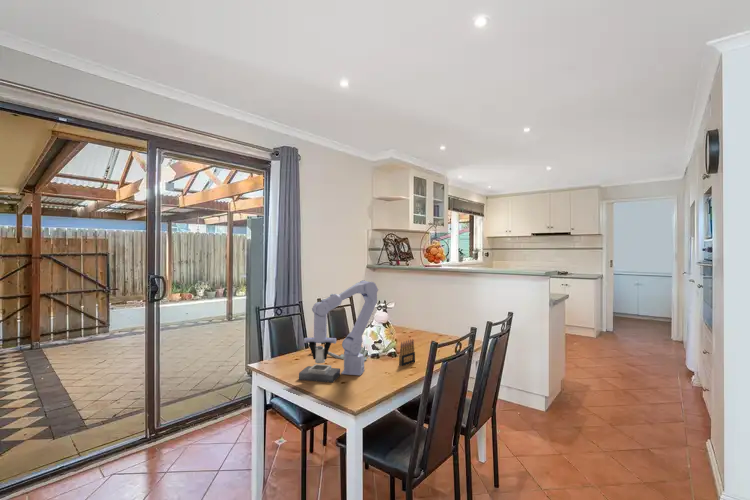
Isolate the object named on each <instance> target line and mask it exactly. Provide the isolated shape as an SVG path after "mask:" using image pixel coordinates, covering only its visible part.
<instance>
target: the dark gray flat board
mask: <svg viewBox="0 0 750 500" xmlns="http://www.w3.org/2000/svg"><path fill="white" fill-rule="evenodd" d="M340 376H341V368H335V367H332V364H331V365H330V364H321V363H315V364H313V365H312V366H310V365H308V366H306V367H305V368H303V369H302V370H301V371H300V372H298V380H299V381H311V382H318V383H319V382H321V383H333V384H334V382H335V381H336V380H337V379H338V378H339V377H340Z"/></svg>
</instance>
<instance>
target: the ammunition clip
mask: <svg viewBox="0 0 750 500" xmlns="http://www.w3.org/2000/svg"><path fill="white" fill-rule="evenodd" d="M398 358H399V359H398V360H399V361H398V364H399V366H400V367H404V366H406V364H407V365H409V363H410V364H412V363H411V362H413V363H415V362H416V352H415V341H414V338H411V339H408V340H405V341H401V342H400V347H399V357H398ZM403 365H404V366H403Z"/></svg>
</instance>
